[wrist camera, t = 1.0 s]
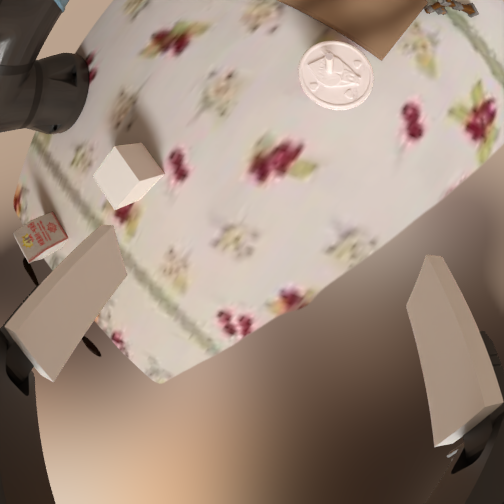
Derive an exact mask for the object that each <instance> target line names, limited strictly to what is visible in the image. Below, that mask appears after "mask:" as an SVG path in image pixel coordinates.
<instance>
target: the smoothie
mask: <svg viewBox="0 0 504 504" xmlns="http://www.w3.org/2000/svg"><path fill="white" fill-rule="evenodd" d="M298 75H299V80H300V84H301V86H302V88H303V90H304V92H305V93H306V94H307V95H308V97H309V98H310V99H311V100H313V101H314V102H315V103H317V104H318V105H321V106H323V107H325V108H328V109H333V110H347V109H351V108H354V107H356V106H358V105H359V104H361V103H363V102H364V101H365V99H366V98H367V97H368V96H369V94H370V92H371V90H372V86H373V81H374V75H373V69H372V66H371V64H370V62H369V60H368V59H367V57H366V56H365V55H364V54H363V53H362V52H361V51H360V50H359V49H357V48H356V47H354V46H352V45H350V44H348V43H345V42H341V41H324V42H320V43H317V44H315V45H313V46H312V47H310V48H309V49H308V50H307V51H306V52H305V53H304V54H303V56H302V58H301V60H300V63H299V68H298Z"/></svg>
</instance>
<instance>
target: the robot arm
mask: <svg viewBox="0 0 504 504" xmlns="http://www.w3.org/2000/svg"><path fill="white" fill-rule="evenodd" d="M68 1H69V0H0V132H5V131H10V130H16V129H22V128H28V129H32V130H35V131H39V132H42V133H46V134H56V133H62V132H65V131H66V130H68V129H69V128H70V127H71V126H72V125H73V124H74V123H75V122H76V120H77V119H78V117H79V115H80V113H81V111H82V109H83V106H84V104H85V100H86V97H87V92H88V84H89V75H88V68H87V65H86V63H85V61H84V59H83V58H82V57H81V56H79V55H77V54H72V53H61V54H57V55H53V56H50V57H46V58H43V59H40V60H36V58H37V56H38V54H39V52H40V49H41V48H42V46H43V44H44V42H45V40H46V38H47V37H48V35H49V33H50V31H51V30H52V28H53V26H54V24H55V23H56V21H57V19H58V18H59V16H60V15H61V13H62V12H64V10H65V6H66V5H67V3H68ZM126 276H127V272H126V269H125V265H124V262H123V259H122V255H121V252H120V248H119V244H118V241H117V237H116V233H115V229H114V226H111V225H100V226H99V227H98V228H97V229H96V230H95V231H94V232H92V233H91V234H90V235H89V236H88V237H87V238H86V239H85V240H84V241H83V242H82V243H81V244H80V245H78V246H77V247H76V248H75V249H74V250H73V251H72V252H71V253H70V254H69V255H68V256H67V257H66V258H65V259H64V260H63V261H62V262H61V263H60V264H59V265H58V266H57V267H56V268H55V269H54V270H53V271H52V272H51V274H50V275H49V276H48V277H47V278H46V279H45V280H44V281H43V282H42V283H41V284H39V285H38V286H36V287H35V289H34V290H33V291H32V292H31V293H30V294H29V297H26V299H25V300H24V301H23V303H21V304H20V306H19V307H18V308H17V309H16V310H15V311H14V313H13V314H12V315H11V316H10V318H9V319H8V320H7V321H6V322H5V324H4V325H3V326H2V327H1V328H0V504H55V501H54V497H53V494H52V490H51V487H50V483H49V479H48V475H47V471H46V466H45V462H44V457H43V452H42V446H41V439H40V433H39V426H38V417H37V407H36V395H35V377H34V373H33V372H32V371H31V370H32V368H33V367H35V368H36V369H37V371H38V372H39V373H40V374H41V375H42V376H44V377H45V378H47V379H49V380H51V381H52V382H54V381H55V379H56V378H57V376H58V374H59V373H60V371H61V370H62V368H63V366H64V365H65V363H66V362H67V360H68V358H69V357H70V355H71V354H72V352H73V351H74V349H75V347H76V346H77V345H78V343H79V342H80V340H81V339H82V337H83V336H84V334H85V333H86V331H87V330H88V328H89V327H90V325H91V324H92V323H93V321H94V320H95V318H96V317H97V315H98V314H99V313H100V311H101V310H102V308H103V307H104V306H105V304H106V303H107V302H108V300H109V299H110V297H111V296H112V295H113V293H114V292H115V291H116V289H117V288H118V287H119V285H120V284H121V283H122V281H123V280H124V279H125V277H126ZM406 308H407V311H408V315H409V318H410V321H411V325H412V329H413V333H414V337H415V340H416V344H417V348H418V353H419V356H420V361H421V366H422V370H423V375H424V380H425V385H426V390H427V396H428V402H429V408H430V415H431V421H432V429H433V438H434V447H436V446H442V445H447V444H452V443H454V442H455V441H456V440H458V439H459V438H461V437H462V436H463V440H464V443H463V444H461V445H460V446H458V447H457V448H455V449H454V450H452V451H451V452H450V453H449V454H448V455H447V457H450V456H452V455H453V454H455V453H456V454H455V456H454V458H452V461H451V463H450V465H449V466H448V468H447V470H446V471H445V473H444V475H443V476H442V478H441V480H440V481H439V483H438V484H437V486H436V487H435V489H434V490H433V492H432V493H431V495H430V496H429V498H428V499H427V500H426V502H425V503H424V504H504V370H503V367H502V366H501V362H500V359H499V357H498V356H497V351H496V349H495V346H494V344H493V342H492V340H491V339H490V338H489V336H488V335H487V334H486V333H485V332H484V331H479V330H478V327H477V325H476V323H475V320H474V318H473V316H472V314H471V312H470V309H469V307H468V305H467V303H466V301H465V299H464V297H463V295H462V293H461V291H460V289H459V287H458V285H457V283H456V281H455V279H454V278H453V276H452V274H451V272H450V270H449V268H448V267H447V265H446V263H445V261H444V259H443V258H442V256H432V255H426V258H425V260H424V263H423V266H422V268H421V271H420V273H419V276H418V279H417V281H416V284H415V286H414V289H413V291H412V293H411V296H410V298H409V300H408V302H407V305H406Z"/></svg>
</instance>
